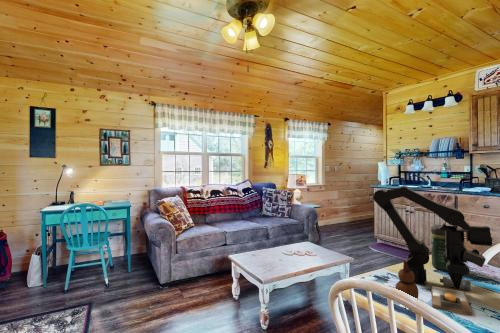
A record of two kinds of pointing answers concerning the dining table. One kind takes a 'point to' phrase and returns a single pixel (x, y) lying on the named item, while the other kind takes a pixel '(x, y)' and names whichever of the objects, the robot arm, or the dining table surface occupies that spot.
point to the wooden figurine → (407, 281)
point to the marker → (448, 282)
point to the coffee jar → (438, 247)
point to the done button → (450, 297)
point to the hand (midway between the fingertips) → (456, 284)
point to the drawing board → (442, 303)
